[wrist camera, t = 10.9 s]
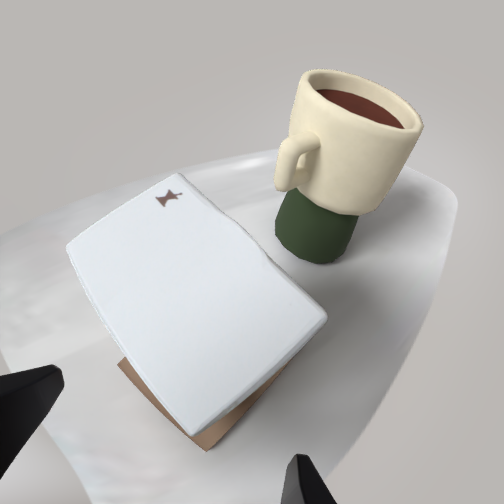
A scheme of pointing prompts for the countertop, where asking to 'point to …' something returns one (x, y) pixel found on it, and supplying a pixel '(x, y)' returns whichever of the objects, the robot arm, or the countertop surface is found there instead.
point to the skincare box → (192, 300)
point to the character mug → (338, 159)
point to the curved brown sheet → (218, 428)
